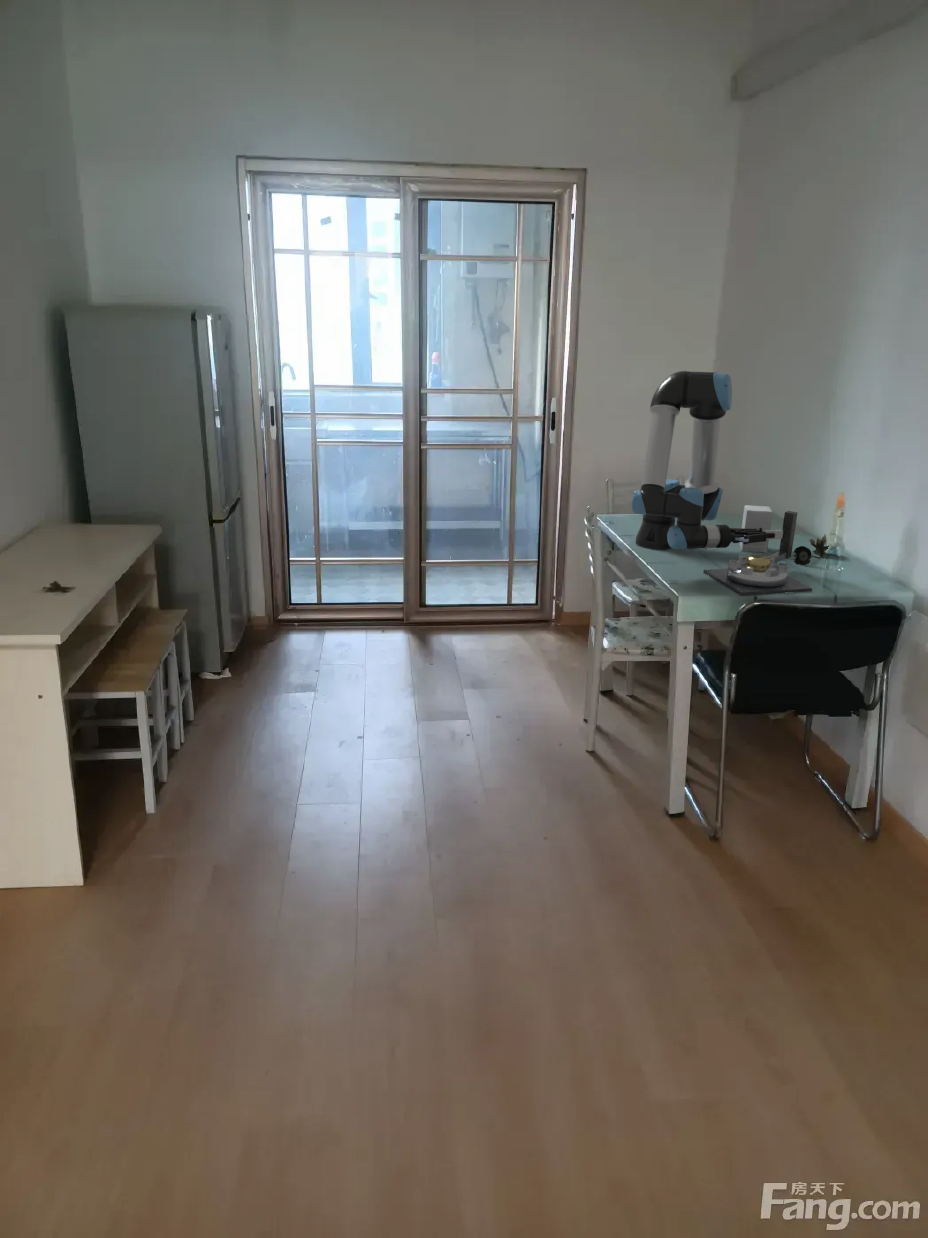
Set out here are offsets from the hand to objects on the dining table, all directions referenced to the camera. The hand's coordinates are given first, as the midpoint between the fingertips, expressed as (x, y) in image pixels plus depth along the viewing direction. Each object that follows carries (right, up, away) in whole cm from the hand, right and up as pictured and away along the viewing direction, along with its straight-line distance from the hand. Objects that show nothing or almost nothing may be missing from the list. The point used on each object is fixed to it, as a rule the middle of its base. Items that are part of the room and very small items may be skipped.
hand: (781, 534), depth 291 cm
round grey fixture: (-7, -13, -6) cm, 16 cm away
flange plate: (-11, -16, -9) cm, 22 cm away
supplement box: (0, -3, +28) cm, 28 cm away
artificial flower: (+17, -7, +18) cm, 26 cm away
